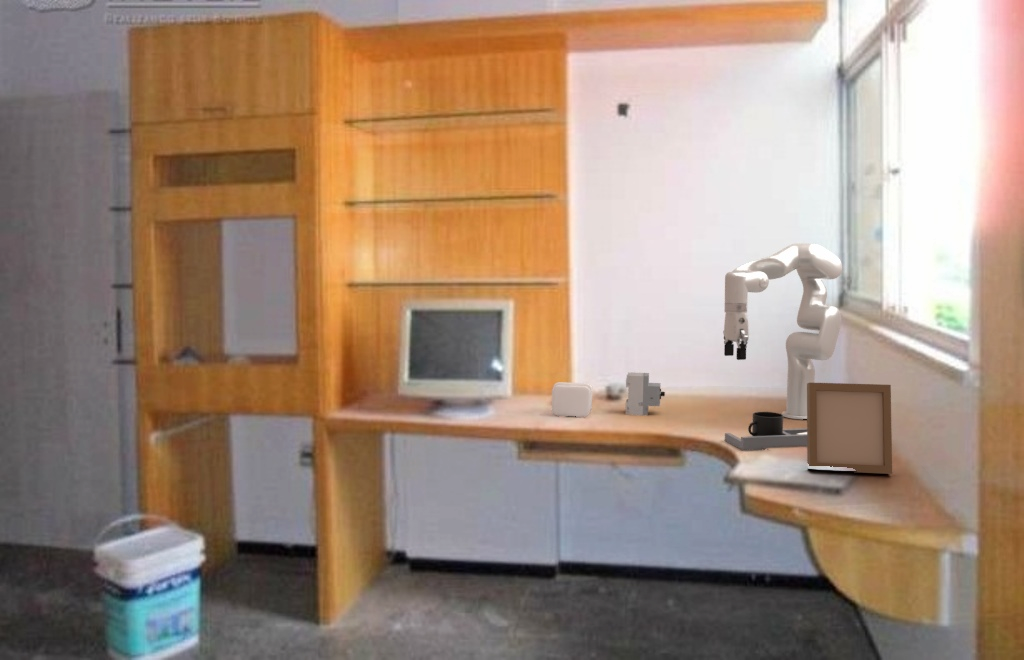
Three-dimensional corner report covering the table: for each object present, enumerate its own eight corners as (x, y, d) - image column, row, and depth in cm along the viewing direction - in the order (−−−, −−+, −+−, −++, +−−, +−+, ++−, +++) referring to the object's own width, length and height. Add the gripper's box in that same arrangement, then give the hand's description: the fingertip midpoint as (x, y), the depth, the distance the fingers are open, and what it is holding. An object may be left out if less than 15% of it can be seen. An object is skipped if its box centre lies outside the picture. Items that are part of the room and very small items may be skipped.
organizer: (812, 436, 284) (813, 425, 283) (834, 446, 271) (835, 434, 270) (724, 440, 278) (725, 428, 278) (742, 450, 265) (743, 437, 265)
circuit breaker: (663, 416, 317) (664, 376, 315) (625, 414, 320) (626, 375, 318) (664, 412, 324) (665, 373, 323) (626, 410, 327) (627, 372, 326)
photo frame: (892, 477, 235) (895, 387, 233) (809, 473, 239) (812, 385, 237) (879, 464, 249) (882, 380, 247) (801, 461, 253) (804, 377, 251)
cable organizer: (549, 416, 317) (549, 385, 315) (553, 411, 327) (553, 381, 326) (589, 418, 314) (589, 387, 312) (592, 412, 324) (593, 382, 323)
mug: (739, 440, 279) (740, 413, 278) (770, 437, 283) (771, 410, 282) (756, 446, 270) (757, 418, 269) (788, 443, 274) (789, 416, 273)
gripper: (757, 309, 283) (756, 360, 285) (735, 305, 300) (734, 353, 302) (736, 310, 282) (735, 361, 284) (715, 306, 299) (714, 354, 301)
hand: (734, 357), depth 293 cm, fingers open, 9 cm apart
